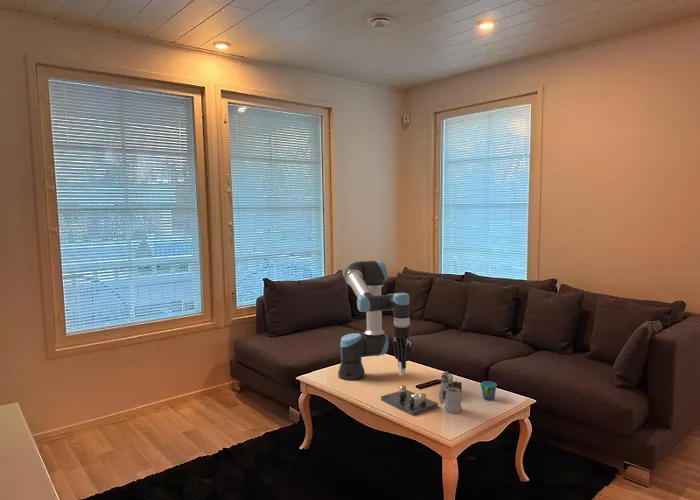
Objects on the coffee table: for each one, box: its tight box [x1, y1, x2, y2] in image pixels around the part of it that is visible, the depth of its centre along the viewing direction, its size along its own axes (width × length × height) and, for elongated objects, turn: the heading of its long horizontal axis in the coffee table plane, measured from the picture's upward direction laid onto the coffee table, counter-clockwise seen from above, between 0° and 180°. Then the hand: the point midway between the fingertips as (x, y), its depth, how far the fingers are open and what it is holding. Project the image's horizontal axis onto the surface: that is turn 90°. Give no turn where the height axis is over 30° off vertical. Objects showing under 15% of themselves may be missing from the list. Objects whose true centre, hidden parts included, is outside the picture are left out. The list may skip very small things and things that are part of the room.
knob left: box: [399, 384, 407, 400], centre depth 245 cm, size 3×10×4 cm, turn 169°
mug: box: [438, 382, 463, 414], centre depth 234 cm, size 8×12×12 cm, turn 43°
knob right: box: [409, 393, 427, 407], centre depth 235 cm, size 3×10×4 cm, turn 125°
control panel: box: [380, 389, 439, 416], centre depth 242 cm, size 23×16×4 cm
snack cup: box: [480, 380, 498, 401], centre depth 247 cm, size 11×8×7 cm
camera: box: [440, 371, 463, 399], centre depth 253 cm, size 16×10×10 cm, turn 166°
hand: (402, 374), depth 239 cm, fingers closed
